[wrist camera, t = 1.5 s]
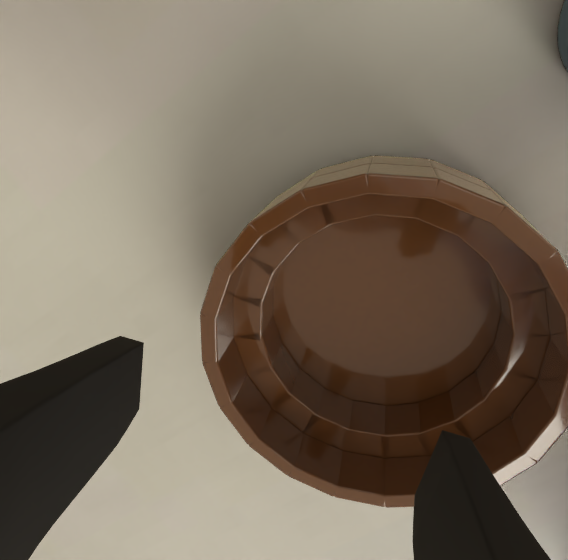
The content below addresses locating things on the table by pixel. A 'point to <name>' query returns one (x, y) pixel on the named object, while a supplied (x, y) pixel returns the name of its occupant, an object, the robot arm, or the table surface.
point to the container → (563, 34)
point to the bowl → (388, 329)
